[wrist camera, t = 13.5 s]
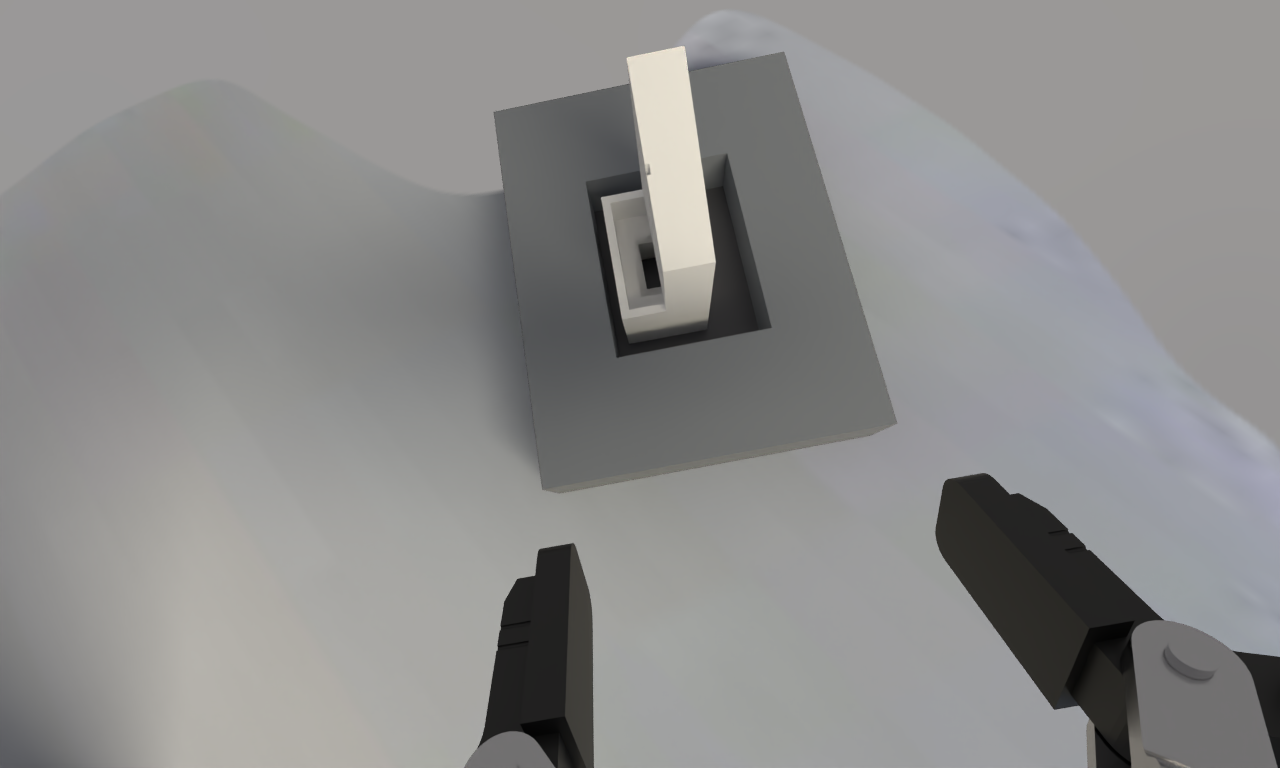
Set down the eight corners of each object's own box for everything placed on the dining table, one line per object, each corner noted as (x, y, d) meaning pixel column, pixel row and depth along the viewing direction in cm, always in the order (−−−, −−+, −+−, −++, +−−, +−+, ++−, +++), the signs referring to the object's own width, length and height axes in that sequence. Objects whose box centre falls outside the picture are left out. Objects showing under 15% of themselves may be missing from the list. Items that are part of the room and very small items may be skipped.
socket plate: (559, 493, 24) (542, 489, 21) (512, 153, 29) (493, 111, 26) (870, 435, 24) (897, 423, 21) (773, 99, 28) (783, 51, 25)
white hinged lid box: (666, 109, 25) (684, 45, 17) (699, 320, 28) (729, 357, 19) (589, 124, 25) (568, 69, 17) (629, 333, 28) (629, 375, 19)
